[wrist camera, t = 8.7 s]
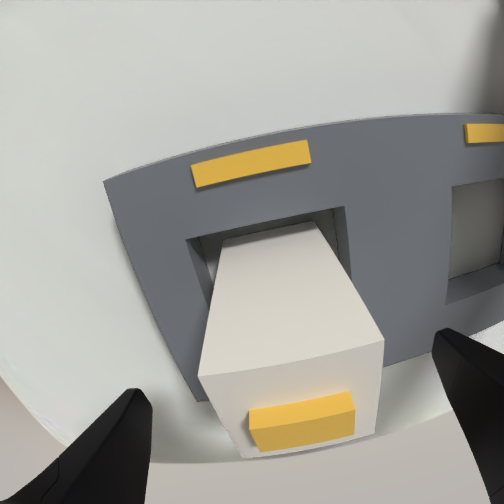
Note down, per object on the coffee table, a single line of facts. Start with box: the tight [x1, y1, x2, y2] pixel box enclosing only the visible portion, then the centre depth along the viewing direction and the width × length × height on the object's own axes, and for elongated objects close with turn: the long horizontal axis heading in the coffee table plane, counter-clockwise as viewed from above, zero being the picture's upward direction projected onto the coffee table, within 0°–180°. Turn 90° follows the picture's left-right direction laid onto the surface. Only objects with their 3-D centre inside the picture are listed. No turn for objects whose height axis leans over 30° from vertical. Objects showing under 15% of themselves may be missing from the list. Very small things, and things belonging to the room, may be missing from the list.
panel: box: [103, 113, 504, 402], centre depth 12 cm, size 22×12×2 cm, turn 103°
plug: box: [198, 221, 384, 458], centre depth 10 cm, size 4×4×9 cm
